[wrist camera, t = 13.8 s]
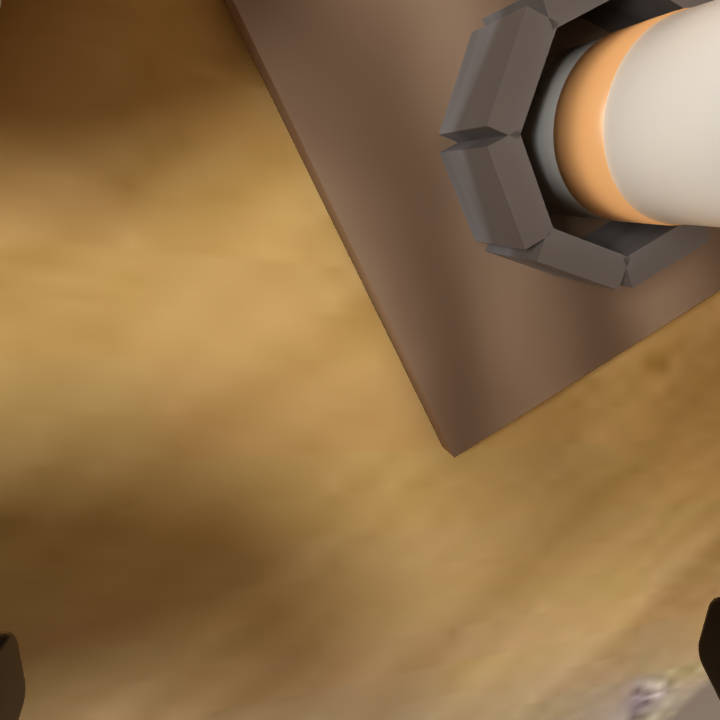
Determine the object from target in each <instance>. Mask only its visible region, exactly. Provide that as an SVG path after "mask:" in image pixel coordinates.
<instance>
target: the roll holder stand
mask: <svg viewBox="0 0 720 720" xmlns="http://www.w3.org/2000/svg"><path fill="white" fill-rule="evenodd" d="M224 1H225V3H226V5H227V7H228V9H229V11H230V13H231V15H232V17H233V19H234V21H235V23H236V25H237V27H238V29H239V31H240V33H241V35H242V37H243V39H244V42H245V44H246V46H247V48H248V50H249V52H250V54H251V56H252V58H253V60H254V62H255V64H256V66H257V68H258V70H259V72H260V74H261V76H262V78H263V80H264V82H265V84H266V87H267V89H268V91H269V93H270V95H271V97H272V99H273V101H274V103H275V105H276V107H277V109H278V111H279V113H280V115H281V117H282V119H283V121H284V123H285V125H286V127H287V129H288V131H289V134H290V136H291V138H292V140H293V142H294V144H295V146H296V148H297V150H298V152H299V154H300V156H301V158H302V160H303V162H304V164H305V166H306V168H307V170H308V172H309V174H310V176H311V179H312V181H313V183H314V185H315V187H316V189H317V191H318V193H319V195H320V197H321V199H322V201H323V203H324V205H325V207H326V209H327V211H328V213H329V215H330V217H331V219H332V221H333V223H334V226H335V228H336V230H337V232H338V234H339V236H340V238H341V240H342V242H343V244H344V246H345V248H346V250H347V252H348V254H349V256H350V258H351V260H352V262H353V264H354V266H355V268H356V270H357V273H358V275H359V277H360V279H361V281H362V283H363V285H364V287H365V289H366V291H367V293H368V295H369V297H370V299H371V301H372V303H373V305H374V307H375V309H376V311H377V313H378V315H379V318H380V320H381V322H382V324H383V326H384V328H385V330H386V332H387V334H388V336H389V338H390V340H391V342H392V344H393V346H394V348H395V350H396V352H397V354H398V356H399V358H400V360H401V362H402V365H403V367H404V369H405V371H406V373H407V375H408V377H409V379H410V381H411V383H412V385H413V387H414V389H415V391H416V393H417V395H418V397H419V399H420V401H421V403H422V405H423V407H424V410H425V412H426V414H427V416H428V418H429V420H430V422H431V424H432V426H433V428H434V430H435V432H436V434H437V436H438V438H439V440H440V442H441V444H442V446H443V447H444V448H445V449H446V450H447V451H448V452H449V453H450V454H451V455H452V456H454V457H456V456H458V455H459V454H461V453H463V452H464V451H466V450H467V449H469V448H471V447H472V446H474V445H475V444H477V443H479V442H480V441H482V440H483V439H485V438H486V437H488V436H490V435H491V434H493V433H494V432H496V431H498V430H499V429H501V428H502V427H504V426H505V425H507V424H509V423H510V422H512V421H513V420H515V419H517V418H518V417H520V416H521V415H523V414H525V413H526V412H528V411H529V410H531V409H532V408H534V407H536V406H537V405H539V404H540V403H542V402H544V401H545V400H547V399H548V398H550V397H551V396H553V395H555V394H556V393H558V392H559V391H561V390H563V389H564V388H566V387H567V386H569V385H571V384H572V383H574V382H575V381H577V380H578V379H580V378H582V377H583V376H585V375H586V374H588V373H590V372H591V371H593V370H594V369H596V368H598V367H599V366H601V365H602V364H604V363H605V362H607V361H609V360H610V359H612V358H613V357H615V356H617V355H618V354H620V353H621V352H623V351H624V350H626V349H628V348H629V347H631V346H632V345H634V344H636V343H637V342H639V341H640V340H642V339H644V338H645V337H647V336H648V335H650V334H651V333H653V332H655V331H656V330H658V329H659V328H661V327H663V326H664V325H666V324H667V323H669V322H670V321H672V320H674V319H675V318H677V317H678V316H680V315H682V314H683V313H685V312H686V311H688V310H690V309H691V308H693V307H694V306H696V305H697V304H699V303H701V302H702V301H704V300H705V299H707V298H709V297H710V296H712V295H713V294H715V293H717V292H718V291H720V227H709V226H696V225H675V226H669V225H656V224H643V223H630V222H618V221H611V220H607V219H601V218H588V217H574V216H561V215H552V214H548V212H547V209H546V206H545V203H544V200H543V198H542V195H541V192H540V189H539V186H538V183H537V180H536V178H535V175H534V172H533V169H532V166H531V163H530V161H529V158H528V155H527V152H526V149H525V146H524V143H523V141H522V138H521V135H520V134H521V131H522V128H523V125H524V122H525V119H526V116H527V114H528V111H529V108H530V105H531V102H532V99H533V96H534V93H535V90H536V87H537V84H538V81H539V78H540V76H541V73H542V70H543V67H544V64H545V61H546V58H547V56H549V55H551V54H554V53H557V52H560V51H563V50H566V49H569V48H572V47H575V46H578V45H581V44H584V43H587V42H590V41H593V40H596V39H599V38H602V37H604V36H606V35H608V34H610V33H612V32H614V31H617V30H620V29H622V28H625V27H628V26H631V25H634V24H637V23H640V22H643V21H646V20H649V19H652V18H655V17H658V16H661V15H664V14H667V13H670V12H673V11H676V10H680V9H684V8H691V7H695V6H698V5H701V4H704V3H707V2H710V1H713V0H224Z"/></svg>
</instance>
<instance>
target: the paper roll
mask: <svg viewBox="0 0 720 720" xmlns="http://www.w3.org/2000/svg"><path fill="white" fill-rule="evenodd" d="M520 135H521V138H522V141H523V143H524V146H525V149H526V152H527V155H528V158H529V161H530V163H531V166H532V169H533V172H534V175H535V178H536V180H537V183H538V186H539V189H540V192H541V195H542V198H543V200H544V203H545V206H546V209H547V212H548V214H552V215H561V216H574V217H588V218H601V219H607V220H611V221H618V222H630V223H643V224H656V225H669V226H675V225H696V226H709V227H720V0H713V1H710V2H707V3H704V4H701V5H698V6H695V7H691V8H684V9H680V10H676V11H673V12H670V13H667V14H664V15H661V16H658V17H655V18H652V19H649V20H646V21H643V22H640V23H637V24H634V25H631V26H628V27H625V28H622V29H620V30H617V31H614V32H612V33H610V34H608V35H606V36H604V37H602V38H599V39H596V40H593V41H590V42H587V43H584V44H581V45H578V46H575V47H572V48H569V49H566V50H563V51H560V52H557V53H554V54H551V55H549V56H547V58H546V61H545V64H544V67H543V70H542V73H541V76H540V78H539V81H538V84H537V87H536V90H535V93H534V96H533V99H532V102H531V105H530V108H529V111H528V114H527V116H526V119H525V122H524V125H523V128H522V131H521V134H520Z"/></svg>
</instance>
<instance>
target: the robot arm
mask: <svg viewBox="0 0 720 720" xmlns="http://www.w3.org/2000/svg"><path fill="white" fill-rule="evenodd" d="M699 656H700V660H701V662H702V665H703V667H704V669H705V671H706V673H707V675H708V677H709V679H710V681H711V683H712V685H713V687H714V689H715V691H716V694H717V696H718V698H719V700H720V597H717V598H714V599H713V600H712V602H711V603H710V605H709V607H708V611H707V615H706V618H705V622H704V625H703V629H702V633H701V636H700V640H699ZM24 698H25V678H24V673H23V668H22V663H21V658H20V652H19V647H18V642H17V639H16V637H15V635H14V634H13V633H11V632H7V631H6V632H0V720H19V717H20V714H21V710H22V707H23V703H24Z"/></svg>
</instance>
